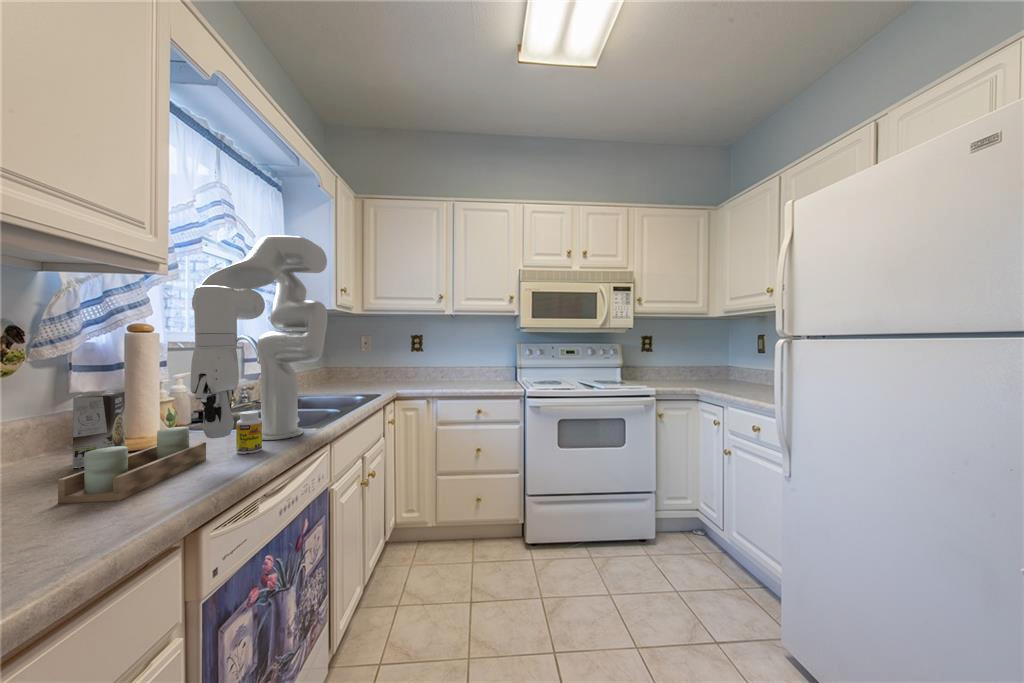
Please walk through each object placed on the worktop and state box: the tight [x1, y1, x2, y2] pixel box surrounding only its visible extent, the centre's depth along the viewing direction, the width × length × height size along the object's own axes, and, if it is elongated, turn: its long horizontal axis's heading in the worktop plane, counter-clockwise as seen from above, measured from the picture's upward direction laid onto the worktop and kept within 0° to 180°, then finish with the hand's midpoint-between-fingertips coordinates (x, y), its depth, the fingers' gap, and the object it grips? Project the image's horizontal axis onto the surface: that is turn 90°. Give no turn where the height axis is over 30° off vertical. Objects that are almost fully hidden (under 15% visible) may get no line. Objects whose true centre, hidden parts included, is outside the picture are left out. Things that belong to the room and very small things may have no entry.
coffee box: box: [72, 391, 126, 469], centre depth 91 cm, size 9×6×16 cm
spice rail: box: [57, 426, 207, 504], centre depth 80 cm, size 24×10×8 cm, turn 8°
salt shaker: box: [201, 390, 235, 439], centre depth 87 cm, size 6×6×13 cm
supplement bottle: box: [235, 410, 263, 455], centre depth 100 cm, size 6×6×10 cm
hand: (218, 421), depth 87 cm, fingers closed on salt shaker, 3 cm apart
